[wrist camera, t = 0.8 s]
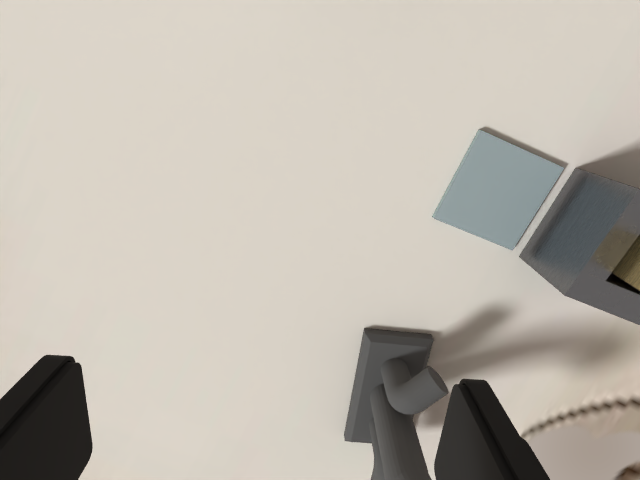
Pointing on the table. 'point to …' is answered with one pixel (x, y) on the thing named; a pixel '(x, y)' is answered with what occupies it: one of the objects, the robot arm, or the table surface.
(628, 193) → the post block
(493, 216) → the rubber pad
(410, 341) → the faucet
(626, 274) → the brass peg
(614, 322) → the table surface
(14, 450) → the robot arm
